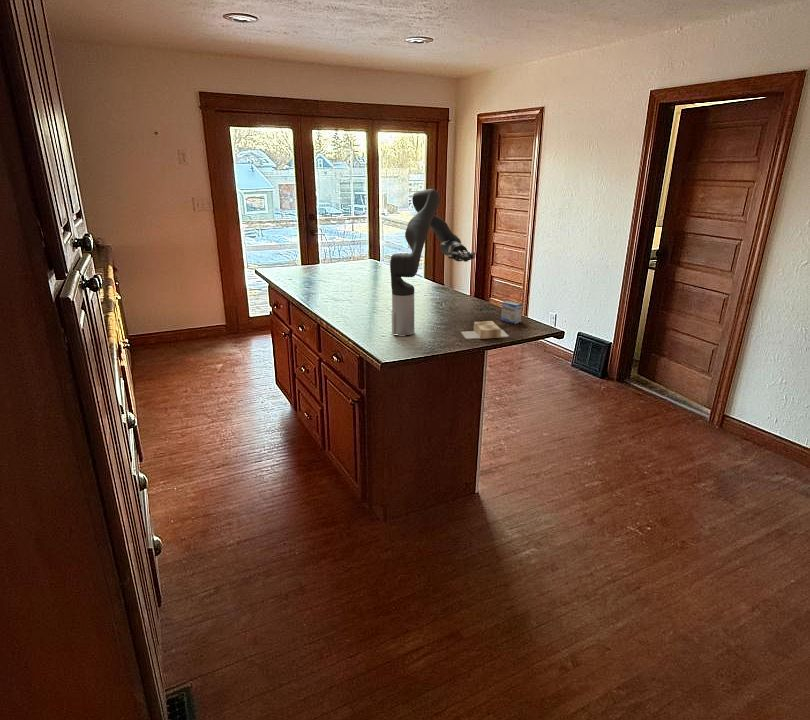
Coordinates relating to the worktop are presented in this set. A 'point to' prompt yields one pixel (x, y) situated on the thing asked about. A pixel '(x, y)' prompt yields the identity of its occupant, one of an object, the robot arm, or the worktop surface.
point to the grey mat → (475, 336)
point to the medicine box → (511, 312)
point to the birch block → (487, 329)
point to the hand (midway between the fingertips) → (466, 259)
